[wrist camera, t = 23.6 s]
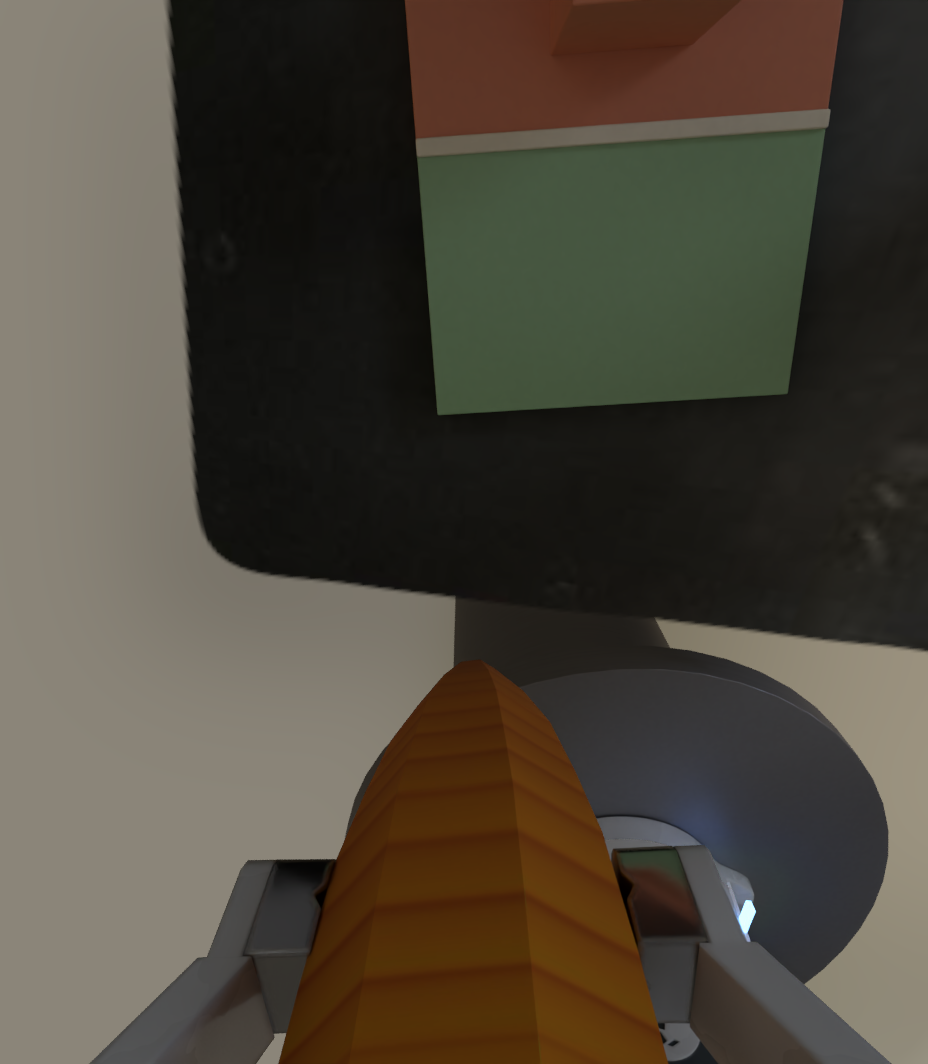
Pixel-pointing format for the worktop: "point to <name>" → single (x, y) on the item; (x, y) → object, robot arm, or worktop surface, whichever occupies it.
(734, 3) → the terracotta block
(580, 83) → the mat
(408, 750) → the carrot
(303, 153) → the worktop surface
